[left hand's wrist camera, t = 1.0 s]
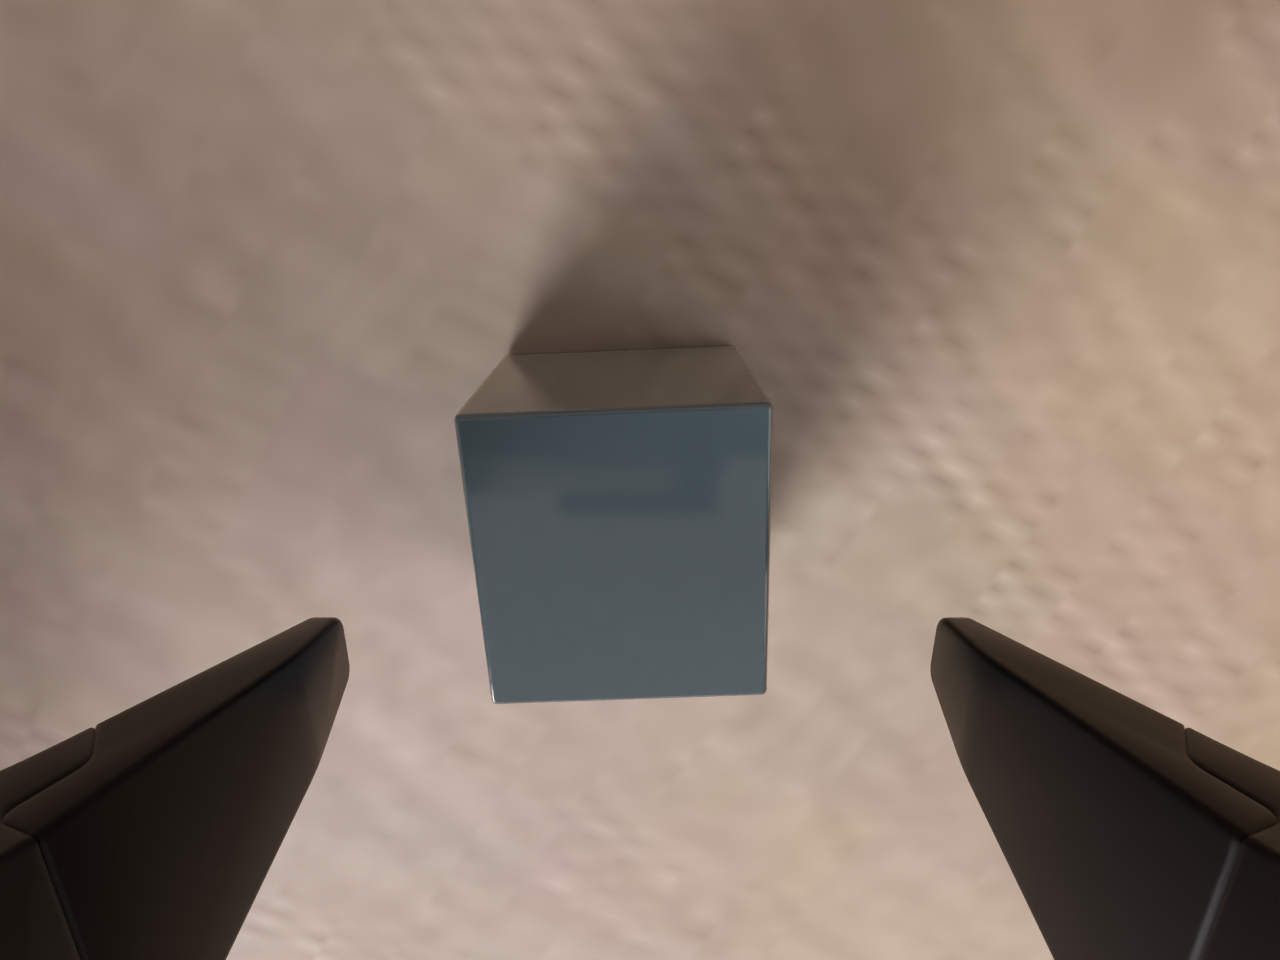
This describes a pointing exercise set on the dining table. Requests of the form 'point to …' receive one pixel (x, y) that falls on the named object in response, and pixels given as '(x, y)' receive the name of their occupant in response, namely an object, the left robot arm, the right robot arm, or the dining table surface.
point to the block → (620, 524)
